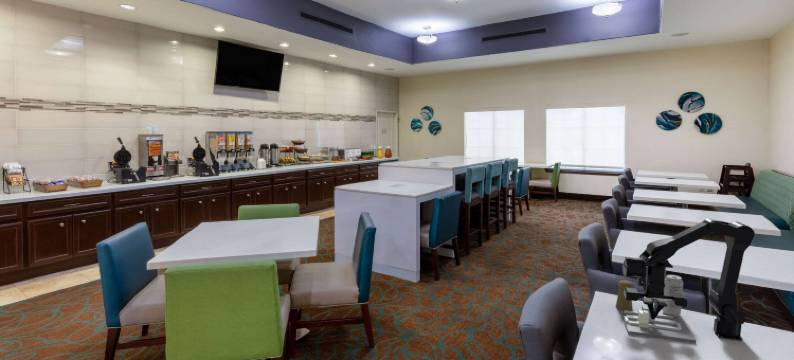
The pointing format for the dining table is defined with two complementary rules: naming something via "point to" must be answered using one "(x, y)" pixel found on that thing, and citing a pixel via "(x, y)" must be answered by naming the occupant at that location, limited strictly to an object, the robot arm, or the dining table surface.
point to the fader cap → (643, 316)
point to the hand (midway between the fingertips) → (652, 319)
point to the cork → (621, 299)
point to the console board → (658, 327)
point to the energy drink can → (675, 286)
